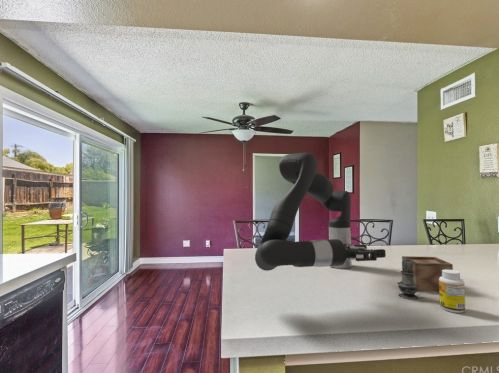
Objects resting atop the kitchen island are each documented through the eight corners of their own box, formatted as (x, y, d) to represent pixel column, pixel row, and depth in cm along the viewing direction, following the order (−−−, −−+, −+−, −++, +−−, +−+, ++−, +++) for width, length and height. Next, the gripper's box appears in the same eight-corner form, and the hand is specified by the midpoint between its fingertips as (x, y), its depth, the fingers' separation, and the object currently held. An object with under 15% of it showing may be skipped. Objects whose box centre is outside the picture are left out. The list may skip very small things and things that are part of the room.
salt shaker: (423, 300, 81) (421, 259, 81) (401, 299, 82) (399, 258, 83) (415, 293, 87) (413, 255, 87) (394, 292, 88) (393, 254, 88)
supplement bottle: (441, 303, 78) (439, 267, 79) (466, 308, 75) (464, 270, 75) (438, 310, 74) (437, 271, 75) (465, 315, 71) (463, 275, 71)
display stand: (416, 291, 89) (415, 263, 90) (402, 280, 100) (401, 256, 100) (453, 292, 88) (452, 264, 88) (435, 281, 98) (434, 256, 99)
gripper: (337, 243, 72) (391, 241, 76) (313, 236, 86) (360, 235, 90) (338, 272, 72) (392, 269, 75) (314, 261, 86) (360, 258, 89)
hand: (374, 250), depth 82 cm, fingers open, 8 cm apart
